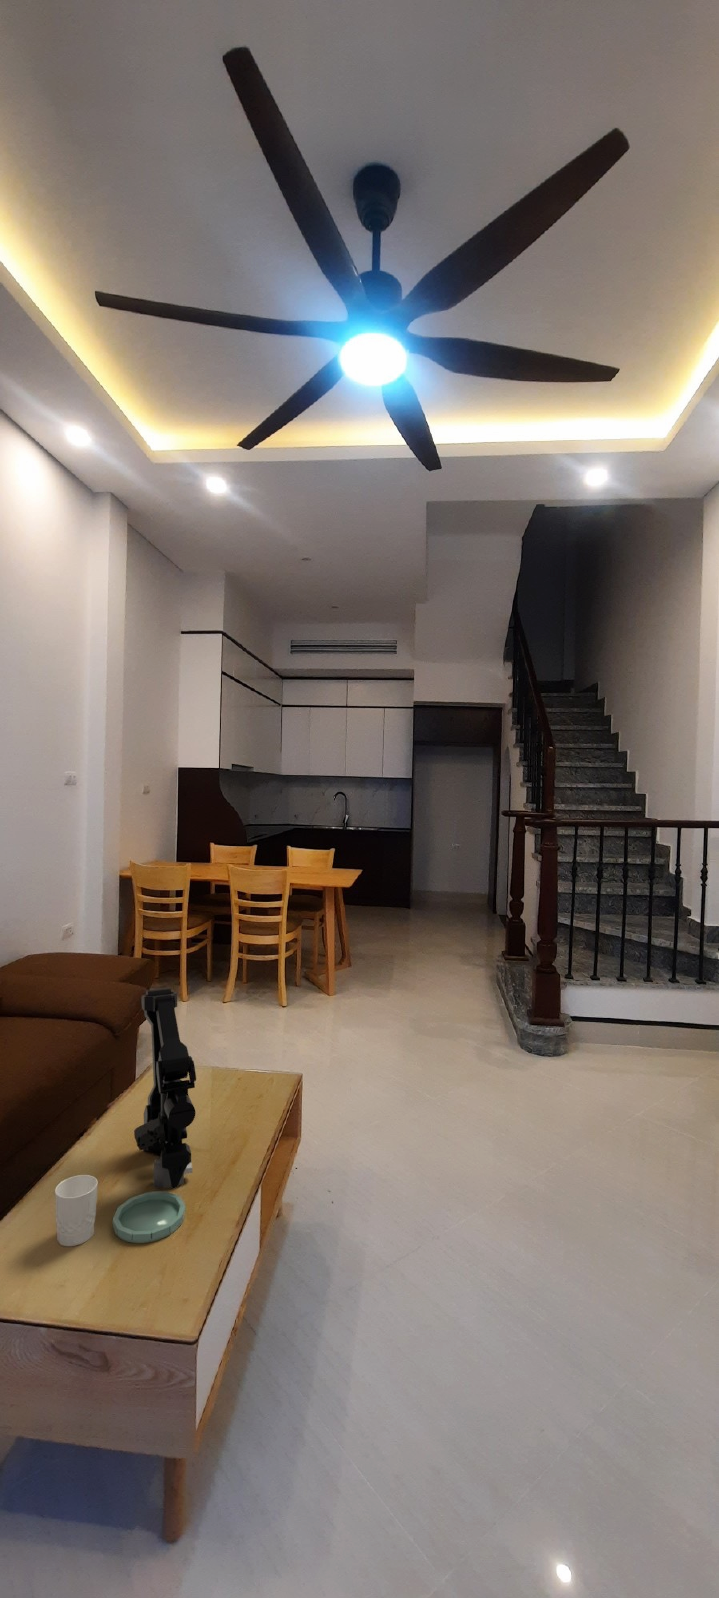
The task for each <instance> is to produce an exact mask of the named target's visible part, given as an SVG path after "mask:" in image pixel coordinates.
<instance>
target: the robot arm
mask: <svg viewBox="0 0 719 1598" xmlns="http://www.w3.org/2000/svg"><path fill="white" fill-rule="evenodd" d="M176 1008H178V992H177V991H172V989H171V987H168V988H158V989H149V990H148V989H147V990H146V991H145V994H143V995H141V1010H143V1012H144V1013H143V1014H144V1018H145V1019H146V1020H147V1022H148V1023H149V1024H150V1027H151V1050H152V1051H151V1053H152V1056H151V1057H152V1075H153V1076H152V1077H153V1086H152V1088H151V1090H150V1093H149V1094H148V1096H147V1105H145V1106H144V1107H145V1108H144V1111H143V1124H142V1125H140V1126H138V1127H136V1128H135V1129H134V1131H133V1132H134V1133H133V1134H134V1140H135V1142H136V1146H137V1147H138V1150H139V1151H143V1152H146V1153H149V1154H152V1155H156V1156H158V1157H161V1165H162V1168H164V1169H168V1170H169V1175H170V1181H171V1186H172V1187H171V1189H177V1188H178V1187H179V1185H178V1184H179V1182H180V1180H181V1178H182V1175H183V1173H184V1171H185V1169H186V1167H187V1165H188V1164H189V1163H192V1151H191V1147H190V1146H191V1145H189V1144H188V1143H186V1142H183V1140H184V1139H185V1140H186V1139H187V1138H188V1132H187V1127H188V1126H190V1125H191V1124H192V1123H193V1121H194V1120H195V1118H196V1113H197V1112H196V1109H195V1107H194V1104H193V1102H192V1100H191V1097H190V1095H189V1090H190V1089H195V1085H196V1083H195V1082H197V1073H196V1068H195V1061H194V1060H193V1057H192V1056H191V1055H190V1054H189V1051H188V1047H187V1045H186V1044H184V1043H183V1042H182V1041H181V1038H180V1033H179V1026H178V1022H177V1021H178V1020H177V1016H176V1015H177V1014H176V1010H175V1009H176ZM188 1077H189V1079H187V1078H188ZM182 1079H185V1080H182Z"/></svg>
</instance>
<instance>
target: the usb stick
mask: <svg viewBox="0 0 719 1598" xmlns="http://www.w3.org/2000/svg"><path fill="white" fill-rule="evenodd" d="M187 1174H193V1164H192V1162H191V1163H189V1164H188V1165H187V1167H186V1169H185V1171H184V1173H183V1175H182V1178H181V1180H180V1182H179V1184H178V1186H182V1185H184V1184H185V1183H184V1182H185V1181H184V1180H185V1179H184V1178H185V1177H184V1176H185V1175H187ZM152 1181H153V1182H152V1183H153V1184H152V1185H153V1187H154V1188H156V1189H158V1190H159V1189H160V1190H161V1189H168V1188H172V1186H171V1181H170V1175H169V1170H168V1169H164V1168H162V1165H161V1156H159V1157H158V1158H155V1160H154V1161H153V1180H152Z"/></svg>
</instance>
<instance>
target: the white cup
mask: <svg viewBox="0 0 719 1598" xmlns="http://www.w3.org/2000/svg"><path fill="white" fill-rule="evenodd" d="M98 1183H99V1182H98V1179H97V1178H96V1177H95V1176H92V1175H89V1174H79V1175H74V1176H71V1177H68V1178H65V1179H63V1180H62V1181H61V1182H59V1184H57V1185H56V1187H55V1189H54V1199H55V1200H54V1201H55V1202H54V1203H55V1222H56V1234H57V1235H56V1236H57V1242H58V1244H60V1245H61V1246H63V1247H76V1246H80V1245H83V1244H85V1242H87V1241H88V1240H90V1239H91V1238H92V1237H93V1235H94V1232H95V1231H94V1230H95V1221H96V1213H97V1203H98V1202H97V1201H98Z"/></svg>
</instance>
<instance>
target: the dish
mask: <svg viewBox="0 0 719 1598" xmlns="http://www.w3.org/2000/svg"><path fill="white" fill-rule="evenodd" d="M185 1213H186V1203H185V1202H184V1201H183V1199H182V1198H181V1196H180V1195H179V1194H175V1193H172V1192H169V1191H164V1190H163V1191H148V1192H144V1193H141V1194H139V1195H136V1196H132V1197H131V1198H128V1199H127V1200H125V1202H124V1203H122V1204H121V1205H119V1206H118V1207H117V1209H116V1211H115V1213H114V1215H113V1218H112V1227H113V1231H114V1233H115V1235H116V1237H118V1238H119V1240H120V1239H121V1240H122V1241H124V1242H126V1243H131V1244H148V1243H152V1242H153V1243H154V1242H156V1241H159V1240H162V1239H164V1238H167V1237H168V1236H170V1235H171V1234H173V1233H174V1232H175V1231H177V1229H179V1228H180V1227H181V1226H182V1224H183V1222H184V1220H185Z"/></svg>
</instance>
